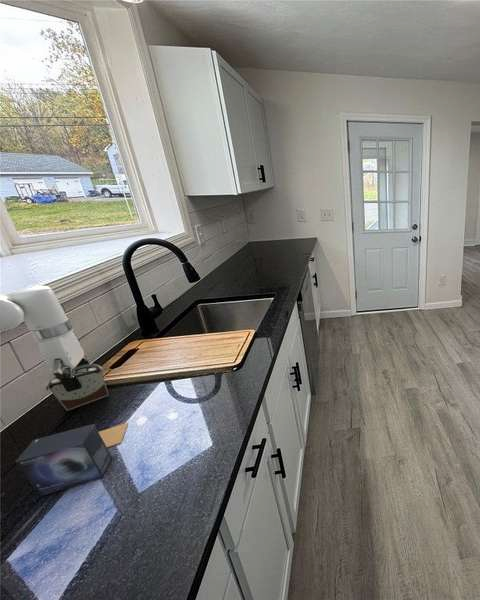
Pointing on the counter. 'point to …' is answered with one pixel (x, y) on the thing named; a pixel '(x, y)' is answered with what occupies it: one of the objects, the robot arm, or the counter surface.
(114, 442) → the cork pad
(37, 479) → the small box
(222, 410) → the counter surface
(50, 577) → the counter surface
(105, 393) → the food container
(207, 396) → the counter surface
